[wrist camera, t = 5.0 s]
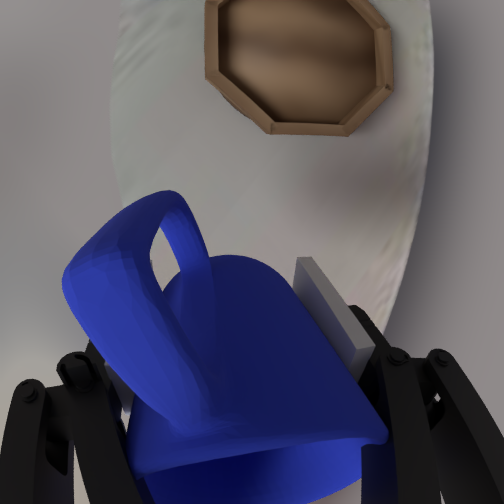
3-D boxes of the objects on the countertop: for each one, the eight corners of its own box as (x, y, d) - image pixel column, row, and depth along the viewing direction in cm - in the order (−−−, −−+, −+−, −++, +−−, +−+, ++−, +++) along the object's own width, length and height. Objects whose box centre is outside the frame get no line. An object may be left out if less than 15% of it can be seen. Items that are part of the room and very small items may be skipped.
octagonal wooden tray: (204, -25, 17) (206, -41, 14) (367, -4, 20) (384, -13, 16) (206, 135, 24) (207, 137, 21) (373, 137, 27) (392, 140, 24)
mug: (253, 125, 11) (427, 170, 3) (311, 330, 17) (383, 475, 8) (80, 196, 11) (-64, 357, 2) (186, 372, 17) (198, 524, 8)
